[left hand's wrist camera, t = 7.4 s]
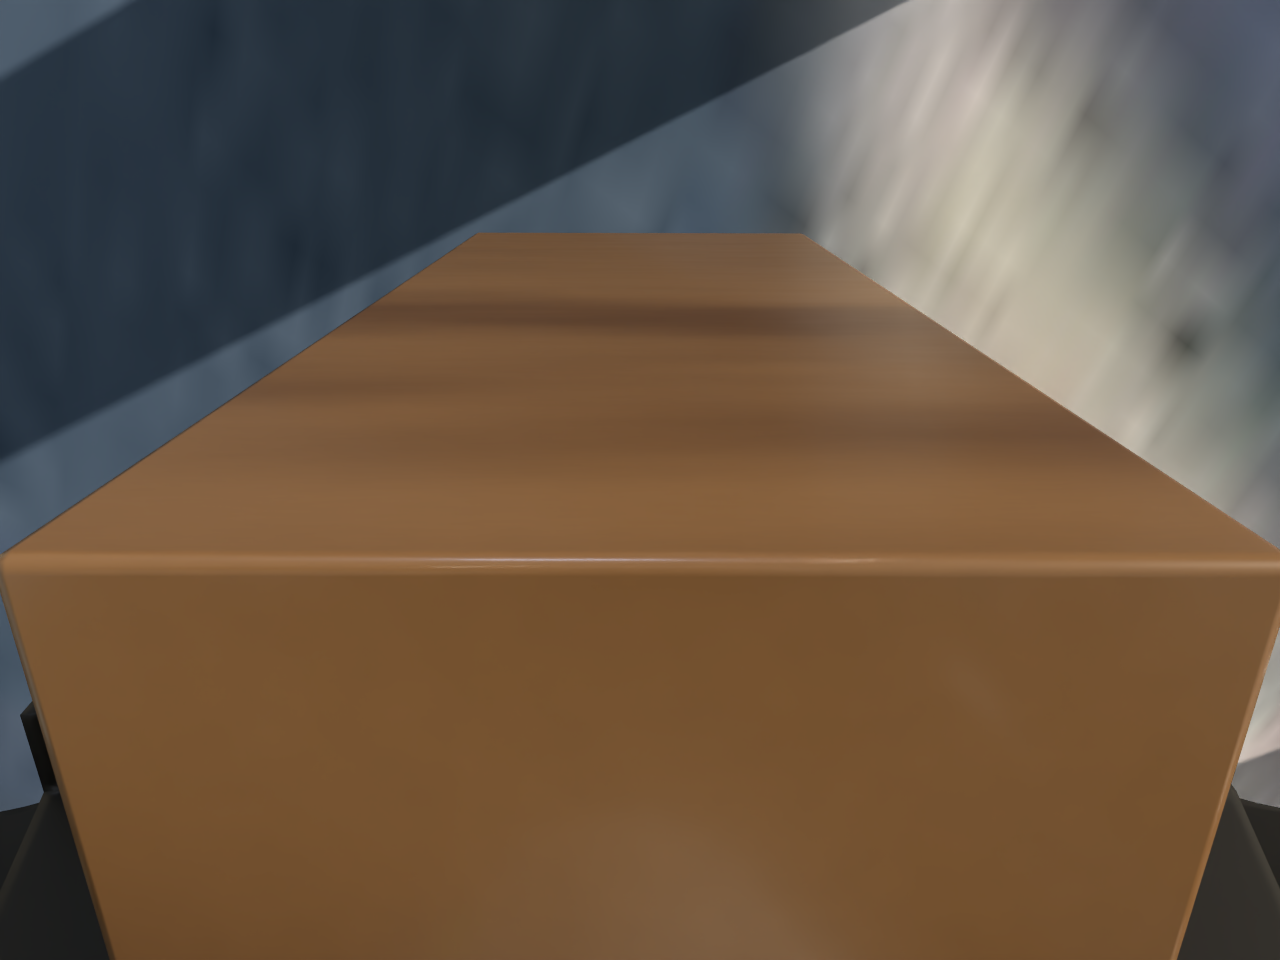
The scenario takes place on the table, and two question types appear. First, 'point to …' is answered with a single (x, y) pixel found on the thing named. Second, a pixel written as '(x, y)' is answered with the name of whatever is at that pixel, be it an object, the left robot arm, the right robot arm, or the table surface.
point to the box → (642, 637)
